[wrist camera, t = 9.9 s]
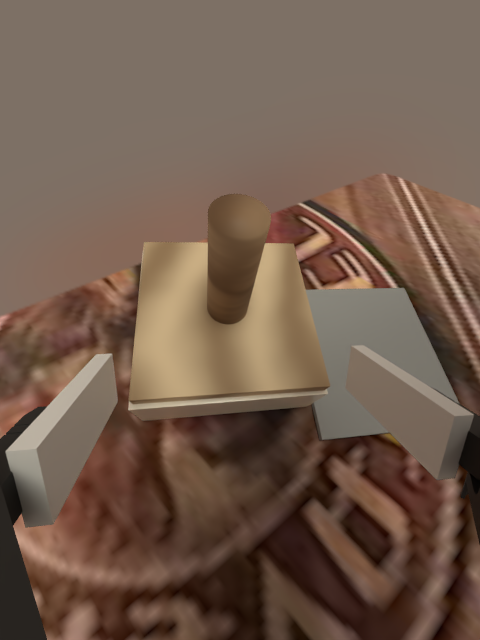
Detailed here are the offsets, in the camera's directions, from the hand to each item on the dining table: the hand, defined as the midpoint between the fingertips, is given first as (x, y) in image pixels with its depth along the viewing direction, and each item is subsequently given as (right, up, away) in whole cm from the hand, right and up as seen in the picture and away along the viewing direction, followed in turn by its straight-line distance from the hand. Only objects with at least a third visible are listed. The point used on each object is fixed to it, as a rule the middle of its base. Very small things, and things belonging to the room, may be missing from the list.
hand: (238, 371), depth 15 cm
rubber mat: (+14, -1, +14) cm, 20 cm away
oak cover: (-1, +3, +9) cm, 10 cm away
